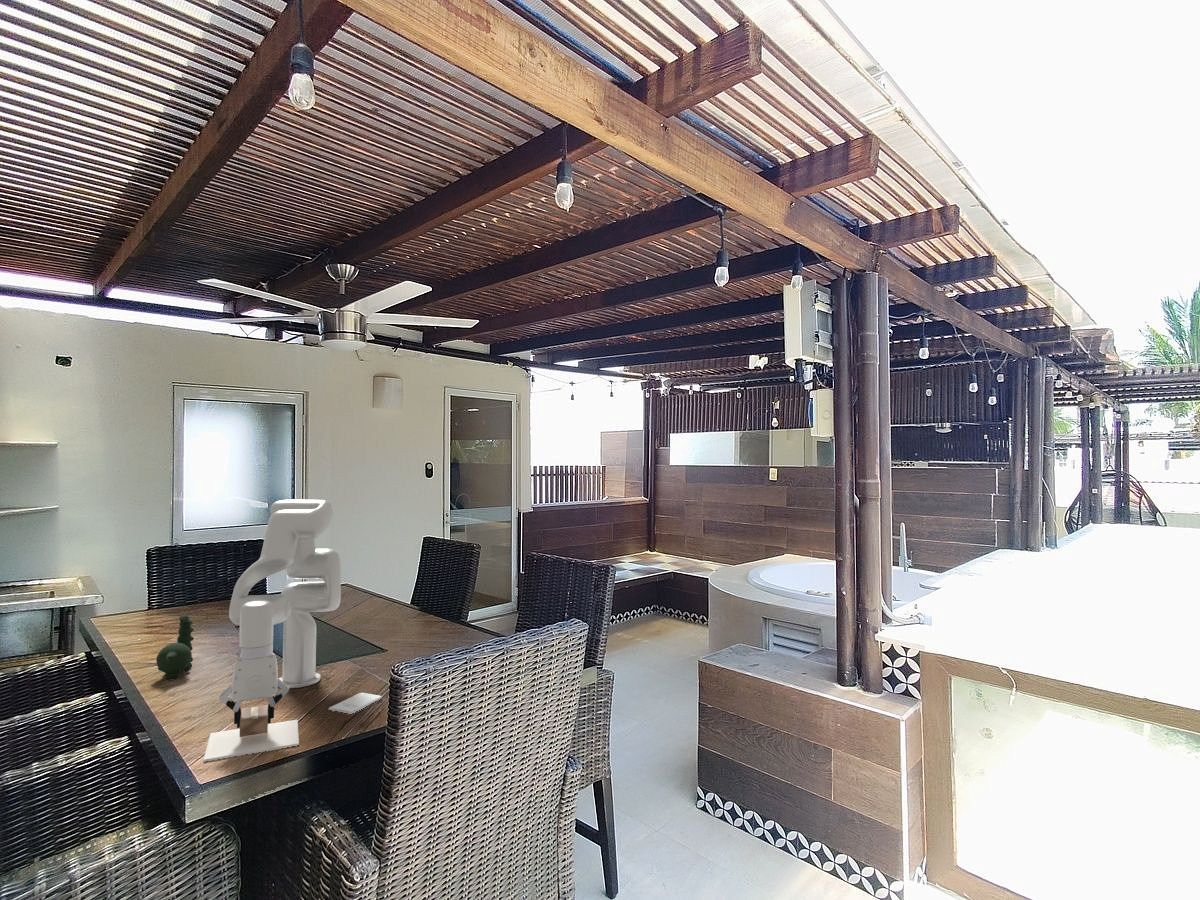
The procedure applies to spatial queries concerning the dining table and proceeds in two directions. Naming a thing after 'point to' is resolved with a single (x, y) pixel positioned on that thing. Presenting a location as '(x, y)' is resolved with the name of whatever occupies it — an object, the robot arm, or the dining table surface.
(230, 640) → the dining table surface
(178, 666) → the toy figurine
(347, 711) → the external hard drive
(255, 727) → the slotted tan block
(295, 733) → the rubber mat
